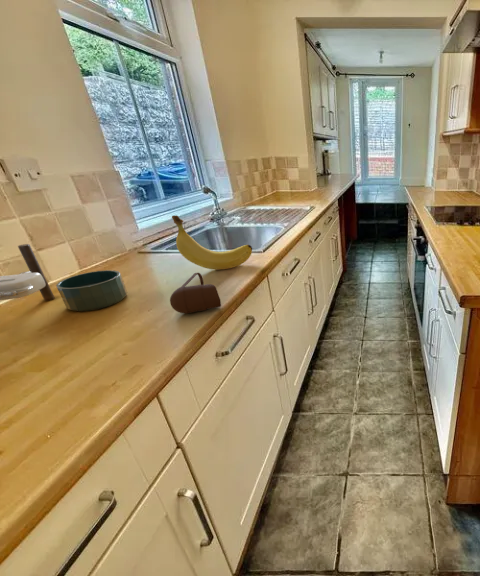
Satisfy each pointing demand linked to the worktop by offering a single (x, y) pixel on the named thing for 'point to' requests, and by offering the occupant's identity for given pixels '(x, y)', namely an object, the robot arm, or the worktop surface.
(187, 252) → the banana
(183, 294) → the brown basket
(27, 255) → the stirring stick
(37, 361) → the worktop surface
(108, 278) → the bowl
